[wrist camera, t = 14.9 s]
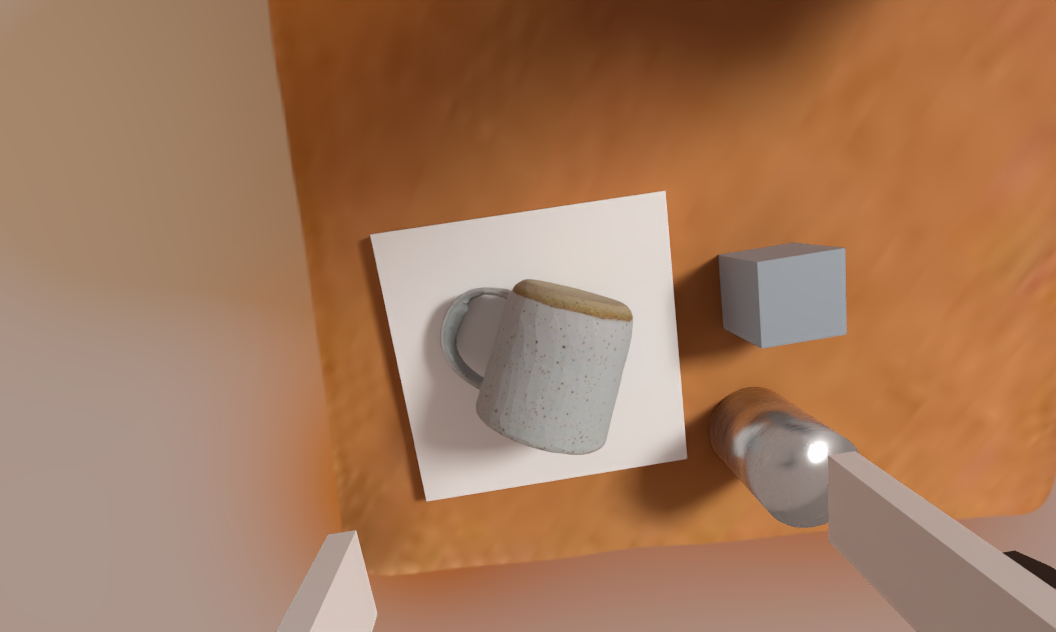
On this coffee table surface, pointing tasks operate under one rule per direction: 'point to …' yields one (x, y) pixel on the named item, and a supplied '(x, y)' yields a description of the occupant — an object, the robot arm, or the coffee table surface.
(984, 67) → the coffee table surface
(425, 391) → the white thin square slab
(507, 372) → the ceramic mug
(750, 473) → the metal tin
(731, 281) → the slate block
